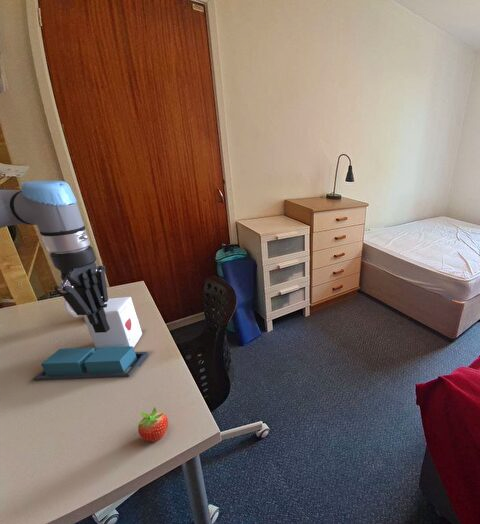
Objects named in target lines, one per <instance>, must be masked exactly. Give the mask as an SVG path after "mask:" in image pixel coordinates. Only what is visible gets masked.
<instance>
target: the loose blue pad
mask: <svg viewBox="0 0 480 524" xmlns="http://www.w3.org/2000/svg"><path fill="white" fill-rule="evenodd" d="M134 348H135V347H134ZM134 348H133V346H125V347H100V348H98V349H97V350H96V349H95V352H94V353H93V354H92V355H91V356H90V357H89V358H88V359H87V360H86V361H85V362H84V364H85V367H86V369H87V371H86V372H87V373H88V374H106V373H126V371H127V370H128V369H129V368H132V365H133V364H134V363H135V362H136V361H137V357H136V354H135V352H136V351H135V349H134Z"/></svg>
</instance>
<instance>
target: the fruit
mask: <svg viewBox="0 0 480 524" xmlns="http://www.w3.org/2000/svg"><path fill="white" fill-rule="evenodd" d="M141 416H142V419H141V421H140V422H138V423H136V424H137V425H138V427H137V430H138V434H139V436H140V437H141V438H142V439H143V440H145V441H147V442H157V441H160V440H161V439H163V438H164V436H165V434H166V433H167V431H168V427H169V419H168V416H167V415H166V414H165V413H162V412H158V411H157V409H156V406H154V407H153V409H152V410H151V413H147V412H146V413H145V412H143V411H141Z"/></svg>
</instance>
